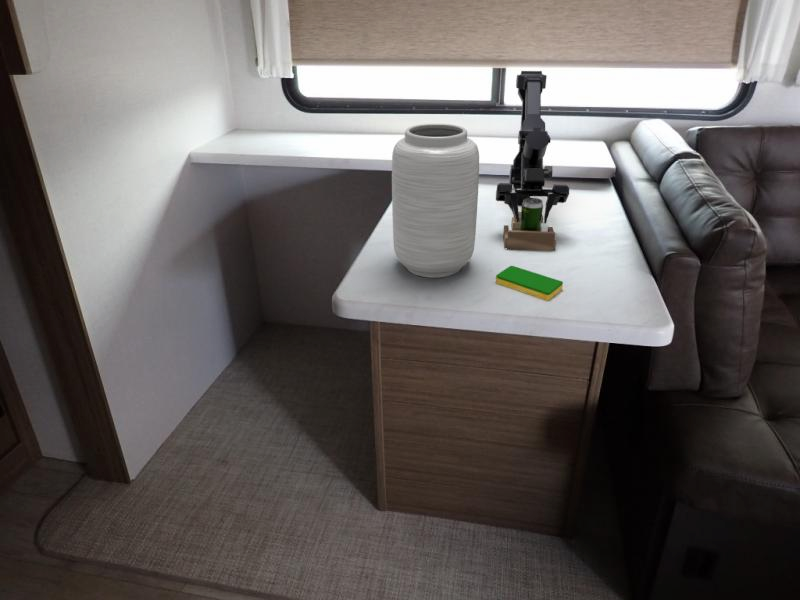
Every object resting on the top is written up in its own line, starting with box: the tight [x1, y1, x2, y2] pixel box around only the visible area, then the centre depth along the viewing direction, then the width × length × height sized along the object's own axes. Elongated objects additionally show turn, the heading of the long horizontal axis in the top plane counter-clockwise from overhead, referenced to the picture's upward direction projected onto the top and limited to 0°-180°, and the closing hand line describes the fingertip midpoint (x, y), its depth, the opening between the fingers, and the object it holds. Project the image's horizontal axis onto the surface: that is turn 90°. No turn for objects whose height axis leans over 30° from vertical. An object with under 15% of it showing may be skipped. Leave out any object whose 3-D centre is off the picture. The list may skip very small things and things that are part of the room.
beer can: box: [520, 197, 544, 231], centre depth 153 cm, size 5×5×12 cm
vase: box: [391, 123, 480, 279], centre depth 137 cm, size 20×20×34 cm
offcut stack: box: [510, 211, 544, 231], centre depth 163 cm, size 5×8×4 cm, turn 83°
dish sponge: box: [495, 265, 564, 301], centre depth 134 cm, size 7×14×2 cm, turn 50°
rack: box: [502, 224, 557, 252], centre depth 155 cm, size 10×13×5 cm
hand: (531, 222), depth 152 cm, fingers open, 7 cm apart
